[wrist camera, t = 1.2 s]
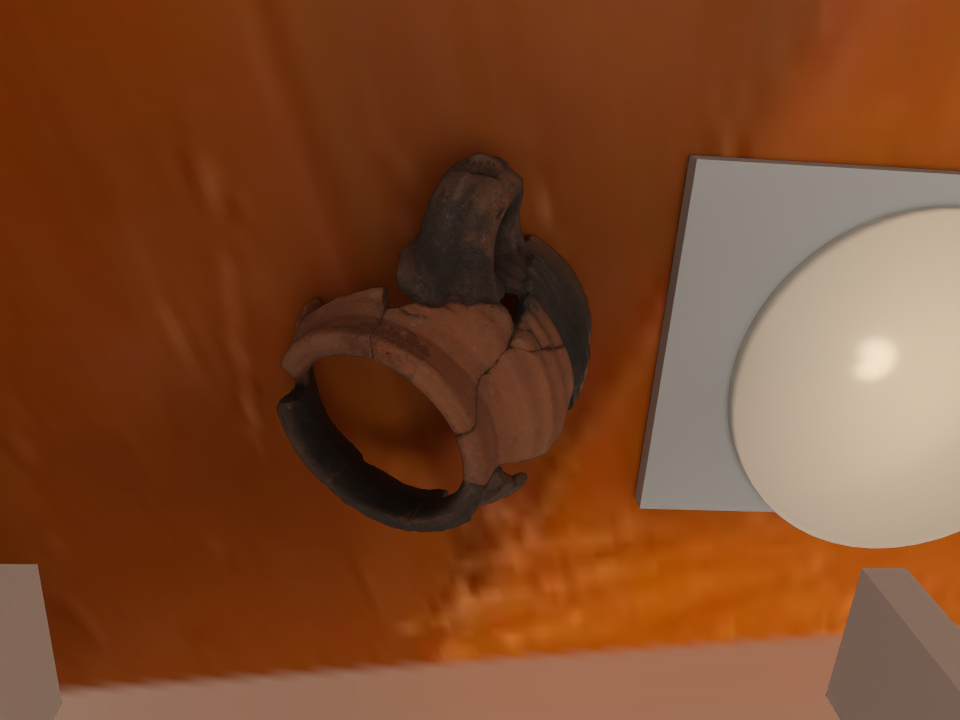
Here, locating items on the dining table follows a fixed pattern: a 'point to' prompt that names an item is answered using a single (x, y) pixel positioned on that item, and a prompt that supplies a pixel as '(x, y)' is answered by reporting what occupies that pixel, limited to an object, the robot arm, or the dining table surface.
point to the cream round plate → (859, 386)
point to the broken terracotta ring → (452, 351)
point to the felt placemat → (745, 300)
